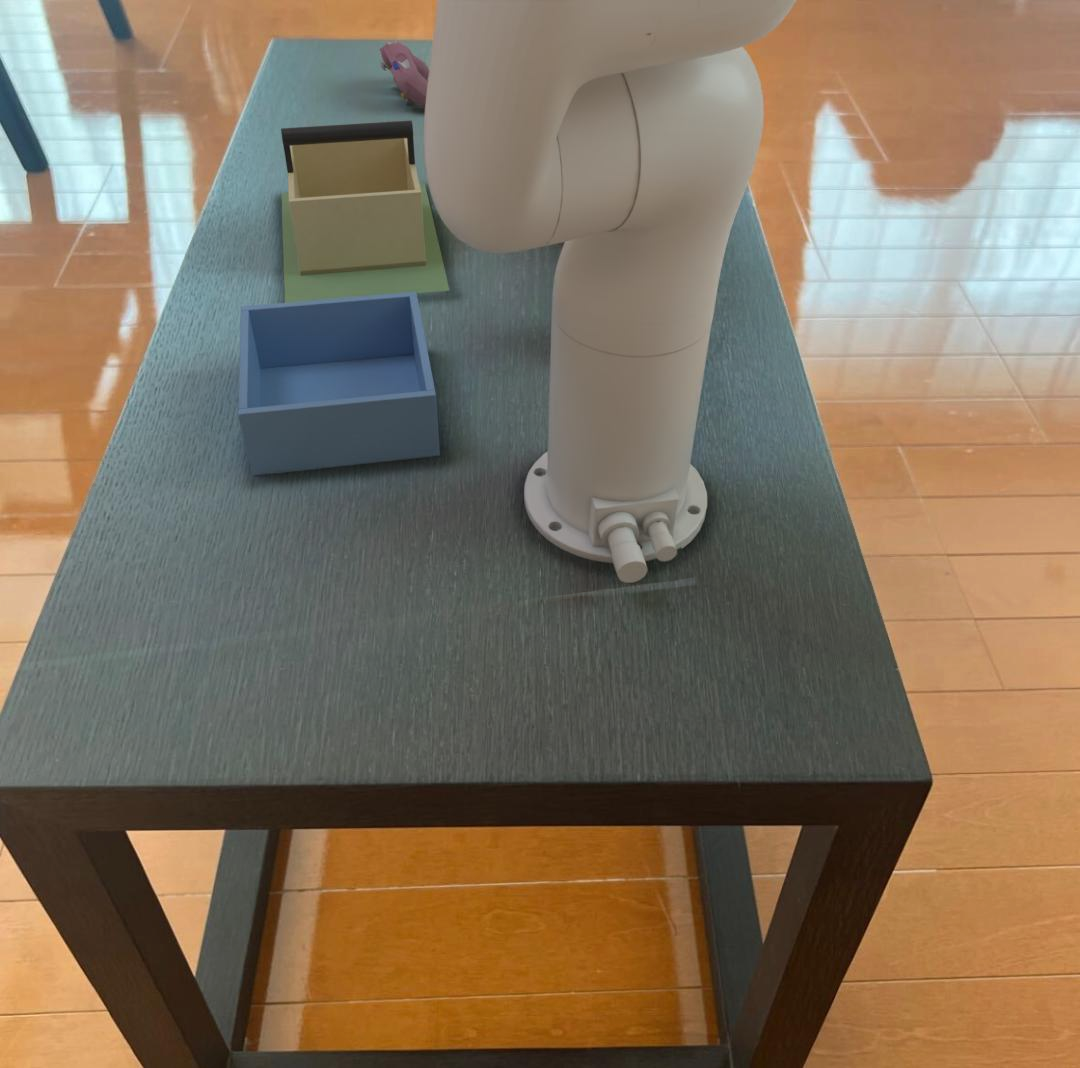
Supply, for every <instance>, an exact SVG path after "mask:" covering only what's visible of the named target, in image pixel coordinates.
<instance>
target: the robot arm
mask: <svg viewBox="0 0 1080 1068" xmlns="http://www.w3.org/2000/svg"><path fill="white" fill-rule="evenodd" d="M796 2H797V0H437V2H436V9H435V10H436V11H435V19H434V27H433V35H432V36H433V37H432V44H431V53H430V60H429V61H430V62H429V63H430V64H429V68H428V69H429V77H428V79H427V81H428V85H427V95H426V105H425V107H424V116H423V155H424V156H423V157H424V165H425V174H426V181H427V184H428V188H429V192H430V197H431V198H432V202H433V204H434V207H435V209H436V211H437V213H438V215H439V217H440V219H441V221H442V223H443V224H444V225H445V226H446V228H447V229H448V230H449V231H450V233H451V234H452V235H453V236H454V237H456V238H457V240H459V241H460V242H461V243H463V244H465V245H466V246H468V247H469V248H472V249H475V250H477V251H480V252H483V253H490V254H513V253H518V252H524V251H529V250H533V249H539V248H544V247H548V246H553V245H556V244H561V243H563V245H562V248H561V251H560V254H559V257H558V259H557V263H556V266H555V267H556V268H555V272H554V278H553V285H552V296H551V297H552V298H551V299H552V300H551V301H552V303H551V321H550V322H551V323H550V325H551V326H550V355H549V358H550V360H549V390H548V391H549V394H548V423H547V424H548V426H547V427H548V429H547V451H546V452H544V453H543V454H542V455H541V456H539V458H538V459H537V460H536V461H535V462H533V465H531V467H530V468H529V470H528V472H527V475H526V478H525V482H524V488H523V491H524V492H523V501H524V508H525V511H526V514H527V516H528V519H529V520H530V522H531V523H532V525H533V526H534V528H535V529H536V530H537V532H539V533H540V535H542V537H544V538H545V539H546V540H547V541H548V542H550V543H551V544H553V545H555V546H556V547H557V548H559V549H561V550H563V551H565V552H567V553H569V554H571V555H574V556H576V557H579V558H583V559H587V560H590V561H594V562H601V563H607V564H613V567H614V570H615V573H616V576H617V578H618V580H619V581H620V582H623V583H625V584H630V583H633V584H634V583H636V582H638V581H641V580H642V579H643V578H644V577H646V575H647V573H648V571H649V570H648V566H647V563H646V562H648V561H652V560H658V561H659V562H669V561H672V560H673V559H674V558H675V557H676V556H677V555H678V550H679V549H684V548H685V547H686V546H687V545H689V544H690V543H691V542H692V541H693V540H694V539H695V538H696V537H697V535H698V533H699V532H700V531H701V529H702V526H703V525H704V524H703V523H704V522H705V518H706V513H707V509H708V492H707V489H706V486H705V482H704V480H703V478H702V477H701V475H700V473H699V472H698V470H697V469H696V468H695V466H693V464H692V463H691V462H692V461H691V460H692V455H693V447H694V442H695V434H696V428H697V422H698V414H699V408H700V402H701V395H702V389H703V383H704V377H705V376H704V375H705V369H706V362H707V358H708V357H707V356H708V350H709V342H710V337H711V330H712V329H711V328H712V325H713V320H714V316H715V315H714V314H715V309H716V301H717V295H718V289H719V283H720V278H721V271H722V266H723V263H724V257H725V254H726V249H727V245H728V241H729V238H730V234H731V232H732V229H733V228H732V227H733V224H734V221H735V218H736V216H737V213H738V210H739V208H740V205H741V203H742V200H743V197H744V195H745V192H746V190H747V187H748V185H749V182H750V180H751V177H752V173H753V170H754V168H755V165H756V162H757V159H758V154H759V149H760V145H761V140H762V135H763V130H764V129H763V128H764V118H765V113H764V112H765V111H764V109H765V107H764V94H763V87H762V82H761V79H760V76H759V73H758V71H757V67H756V65H755V63H754V61H753V59H752V58H751V56H750V54H749V52H748V51H747V50H746V49H745V48H744V47H746V46H748V45H751V44H753V43H755V42H757V41H759V40H761V39H763V38H765V37H766V36H768V35H769V34H771V32H773V31H774V30H776V28H777V27H778V26H779V25H780V24H781V23H782V22H783V21H784V20H785V18H786V16H787V15H788V14H789V13H790V11H791V10H792V9H793V7H794V5H795V3H796Z"/></svg>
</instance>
